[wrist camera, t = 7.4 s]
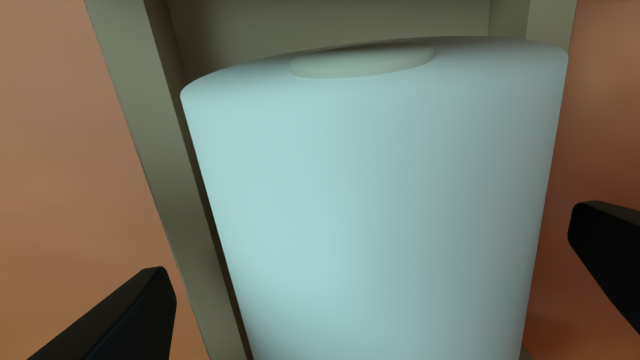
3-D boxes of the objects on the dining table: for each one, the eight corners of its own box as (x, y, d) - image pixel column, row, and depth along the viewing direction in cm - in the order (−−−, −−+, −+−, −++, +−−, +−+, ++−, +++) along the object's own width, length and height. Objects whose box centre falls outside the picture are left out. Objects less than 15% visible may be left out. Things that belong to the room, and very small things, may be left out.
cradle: (493, 336, 16) (579, 472, 11) (228, 380, 15) (206, 539, 11) (558, -195, 8) (882, -425, 4) (56, -139, 8) (-238, -325, 3)
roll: (446, 284, 13) (570, 491, 7) (271, 313, 13) (266, 547, 7) (456, 22, 9) (711, 49, 4) (211, 55, 9) (107, 135, 4)
